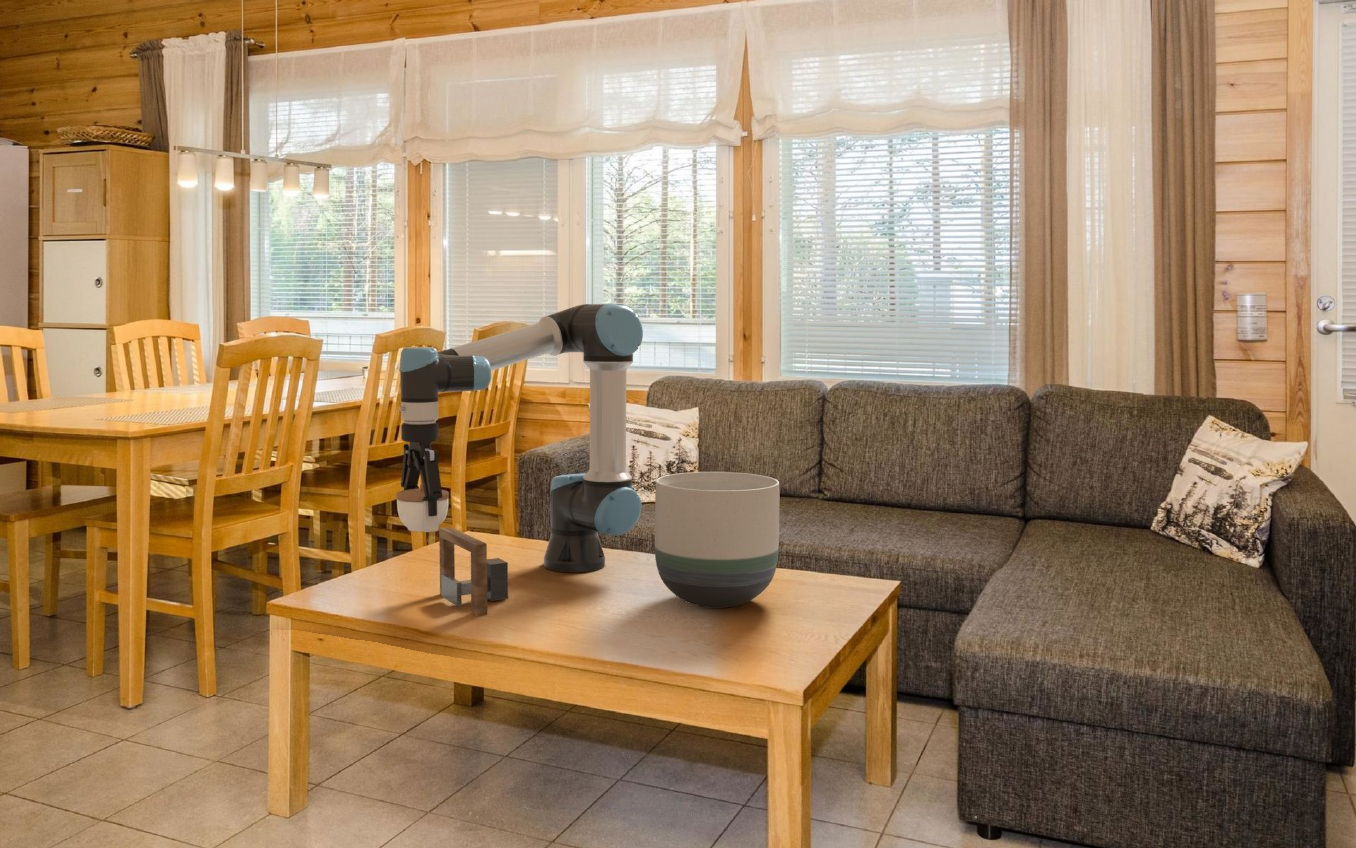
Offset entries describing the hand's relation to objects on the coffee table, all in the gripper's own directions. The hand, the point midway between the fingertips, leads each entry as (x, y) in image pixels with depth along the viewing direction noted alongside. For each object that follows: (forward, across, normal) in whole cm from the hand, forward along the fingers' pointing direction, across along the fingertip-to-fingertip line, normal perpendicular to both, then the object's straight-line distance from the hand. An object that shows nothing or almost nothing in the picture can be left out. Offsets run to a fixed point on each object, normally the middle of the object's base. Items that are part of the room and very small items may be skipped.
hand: (421, 526), depth 227 cm
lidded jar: (+1, 0, 0) cm, 1 cm away
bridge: (+18, 0, +9) cm, 20 cm away
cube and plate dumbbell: (+17, 0, +12) cm, 21 cm away
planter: (+18, +28, +56) cm, 65 cm away
